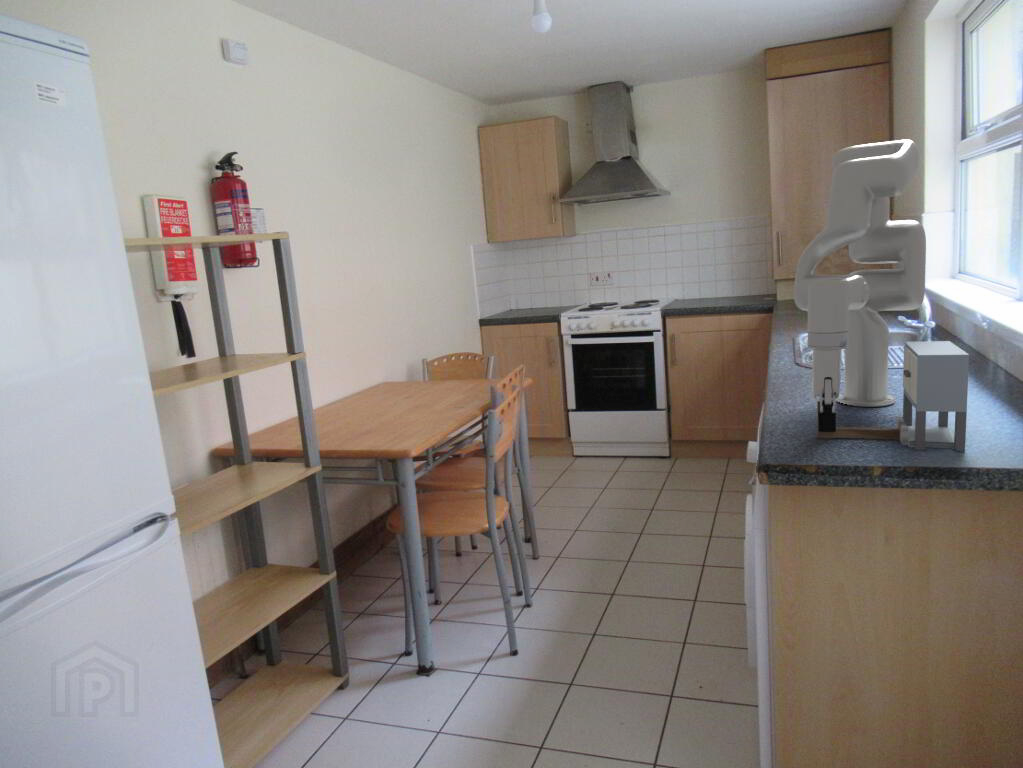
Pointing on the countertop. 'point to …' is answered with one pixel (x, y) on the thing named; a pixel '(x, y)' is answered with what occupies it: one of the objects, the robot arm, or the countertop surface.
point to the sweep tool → (867, 431)
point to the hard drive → (933, 437)
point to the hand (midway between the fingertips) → (826, 428)
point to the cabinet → (935, 387)
